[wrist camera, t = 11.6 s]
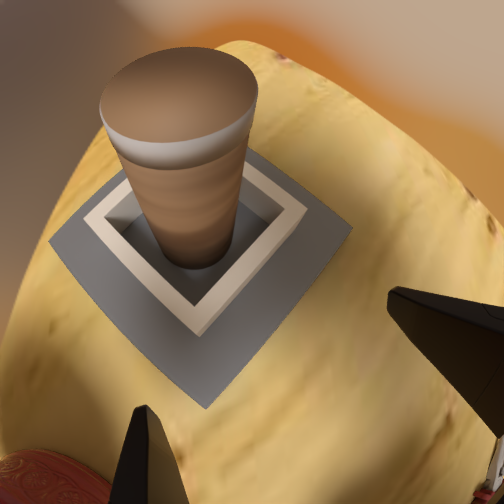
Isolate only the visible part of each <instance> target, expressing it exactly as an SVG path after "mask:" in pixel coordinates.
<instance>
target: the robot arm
mask: <svg viewBox="0 0 504 504" xmlns="http://www.w3.org/2000/svg"><path fill="white" fill-rule="evenodd" d="M387 311H388V313H389V314H390V316H391V317H392V318H393V319H394V321H395V322H396V323H397V325H398V326H399V327H400V328H401V330H402V331H403V332H404V333H405V335H406V336H407V337H408V338H409V340H410V341H411V342H412V343H413V344H414V345H415V346H416V347H417V348H418V349H419V350H420V352H421V353H422V354H423V355H424V356H425V357H426V358H427V359H428V360H429V361H430V362H431V363H432V364H433V365H434V366H435V367H436V368H437V370H438V371H439V372H440V373H441V374H442V375H443V376H444V377H445V378H446V379H447V380H448V382H449V383H450V384H451V385H452V386H453V387H454V388H455V389H456V390H457V391H458V393H459V394H460V395H461V396H462V397H463V398H464V399H465V400H466V402H467V403H468V404H469V405H470V406H471V407H472V409H473V410H474V411H475V412H476V413H477V414H478V416H479V417H480V418H481V419H482V420H483V421H484V423H485V424H486V425H487V426H488V427H489V429H490V430H491V431H492V432H493V433H494V435H495V436H496V437H497V438H498V439H500V438H501V437H502V436H503V435H504V307H499V306H494V305H488V304H483V303H478V302H473V301H468V300H463V299H458V298H453V297H449V296H444V295H439V294H434V293H429V292H424V291H419V290H414V289H409V288H404V287H399V286H397V287H395V288H393V289H391V290H390V291H389V292H388V299H387ZM109 500H110V501H108V504H189V501H188V498H187V495H186V492H185V489H184V486H183V482H182V479H181V476H180V473H179V469H178V466H177V463H176V460H175V457H174V455H173V452H172V450H171V447H170V445H169V442H168V440H167V437H166V434H165V432H164V429H163V426H162V424H161V421H160V419H159V418H158V416H157V415H156V414H155V413H154V412H153V411H152V410H151V409H150V407H149V406H148V405H142V406H139V407H136V408H135V409H134V411H133V414H132V417H131V421H130V424H129V427H128V430H127V434H126V437H125V441H124V444H123V447H122V451H121V454H120V458H119V462H118V465H117V469H116V473H115V476H114V480H113V484H112V488H111V492H110V496H109ZM486 504H504V483H503V484H502V486H501V487H500V488H499V489H498V491H497V492H496V493H495V494H494V495H493V496H492V498H491V499H490V500H489V501H488V502H487V503H486Z"/></svg>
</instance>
